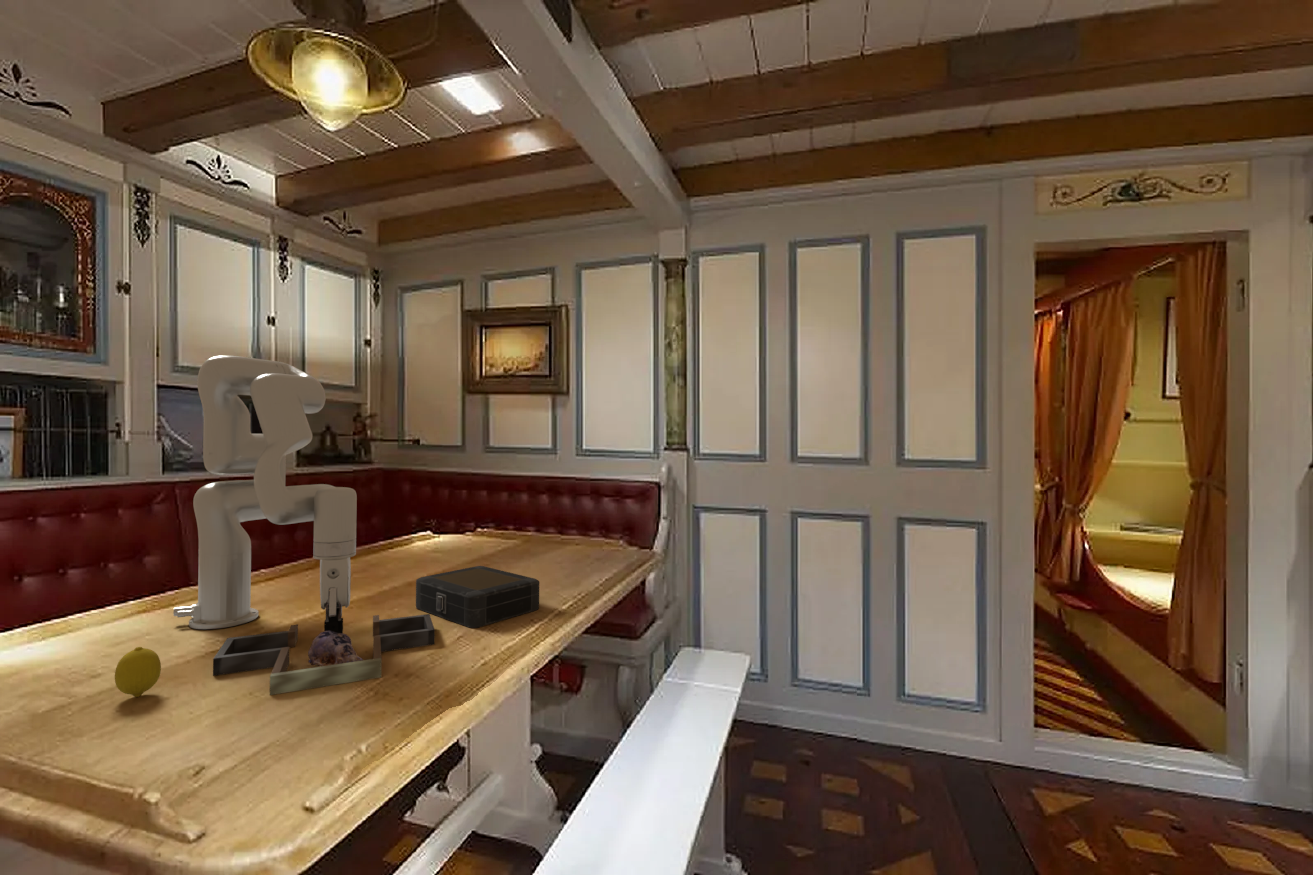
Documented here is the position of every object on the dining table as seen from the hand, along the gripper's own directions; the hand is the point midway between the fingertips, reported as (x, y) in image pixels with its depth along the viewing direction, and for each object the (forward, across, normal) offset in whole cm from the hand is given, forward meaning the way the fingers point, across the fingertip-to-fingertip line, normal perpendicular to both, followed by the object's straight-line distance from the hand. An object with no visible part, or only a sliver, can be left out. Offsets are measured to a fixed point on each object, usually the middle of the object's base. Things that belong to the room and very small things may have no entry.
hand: (333, 639), depth 116 cm
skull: (+2, -14, -1) cm, 14 cm away
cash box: (+2, +14, -30) cm, 33 cm away
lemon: (+1, -13, +27) cm, 30 cm away
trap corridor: (+1, -6, 0) cm, 6 cm away
